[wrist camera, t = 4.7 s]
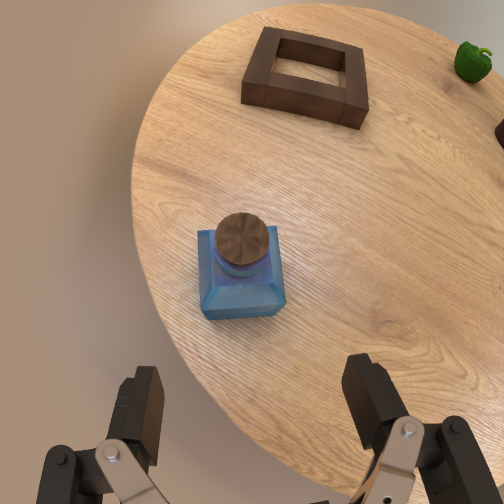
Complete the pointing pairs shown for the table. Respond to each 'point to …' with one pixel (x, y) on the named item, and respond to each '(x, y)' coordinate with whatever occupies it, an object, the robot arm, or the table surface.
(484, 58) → the bell pepper
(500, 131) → the wine bottle
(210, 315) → the perfume bottle
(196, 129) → the table surface
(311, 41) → the holder
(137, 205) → the table surface
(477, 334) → the table surface
